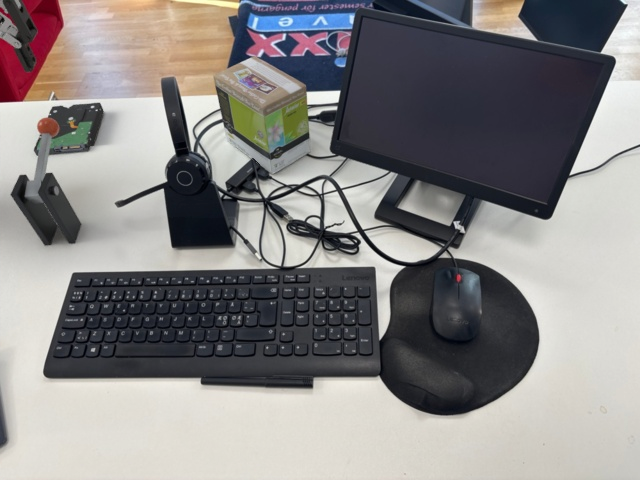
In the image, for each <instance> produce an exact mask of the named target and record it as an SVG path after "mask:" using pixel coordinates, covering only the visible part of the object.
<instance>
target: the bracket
mask: <svg viewBox="0 0 640 480" xmlns="http://www.w3.org/2000/svg"><path fill="white" fill-rule="evenodd" d="M27 181H31V179H30V178H29V177H28V175H27V174H25V173H24V174H19V175H18V178H17V180H16V182H15V184H14V185H13V188H12V189H11V192H10V196H11V198H12V200H13V201H14V202H15V204H16V205H17V207H18V209H19V210H20V211H21V213H22V214H23V216H24V218H25V219H26V220H27V222H28V223H29V224H30V226H31V227H32V229H33V230H34V232H35V233H36V235H37V236H38V238H39V240H40V241H41V243H42V244H43V246H51V245H52V243H53V240H54V238H55V235H56V233H57V232H56V231H57V229H58V228H59V230H60V231H61V233H62V234H63V236H64V238H65V239H66V241H67V242H68V244H69V245H73V244H76V242H77V240H78V237H79V234H80V230H81V227H82V222H81V220H80V219H79V217H78V215H77V213H76V212H75V210H74V208H73V206H72V205H71V203H70V201H69V199H68V198H67V196H66V194H65V192H64V190H63V188H62V187H61V185H60V183H59V182H58V180H57V178H56V176H55V174H54V173H53V172H46V174H45V176H44V179H43V181H42V183H41V186H40V188H39V190H38V194H39V196H40V197H41V199H42V201H43V202H44V203H41V204H32V203H31V202H30V201H29V200H28V199H26V198H25V197H24V196H25V190H26V185H27Z"/></svg>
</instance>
